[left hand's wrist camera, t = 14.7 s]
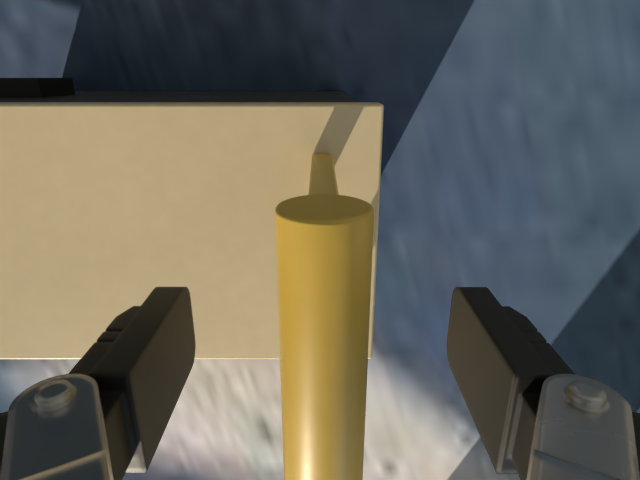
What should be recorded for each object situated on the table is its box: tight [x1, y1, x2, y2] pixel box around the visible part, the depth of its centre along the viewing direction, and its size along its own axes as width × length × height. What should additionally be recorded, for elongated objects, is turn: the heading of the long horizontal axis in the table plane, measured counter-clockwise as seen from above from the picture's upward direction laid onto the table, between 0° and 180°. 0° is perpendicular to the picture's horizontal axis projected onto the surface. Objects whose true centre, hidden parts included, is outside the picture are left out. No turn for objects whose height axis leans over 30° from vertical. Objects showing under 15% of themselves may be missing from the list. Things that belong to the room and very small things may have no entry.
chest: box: [0, 91, 357, 102], centre depth 22 cm, size 16×10×11 cm, turn 90°
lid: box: [0, 102, 384, 480], centre depth 13 cm, size 17×10×9 cm, turn 90°
